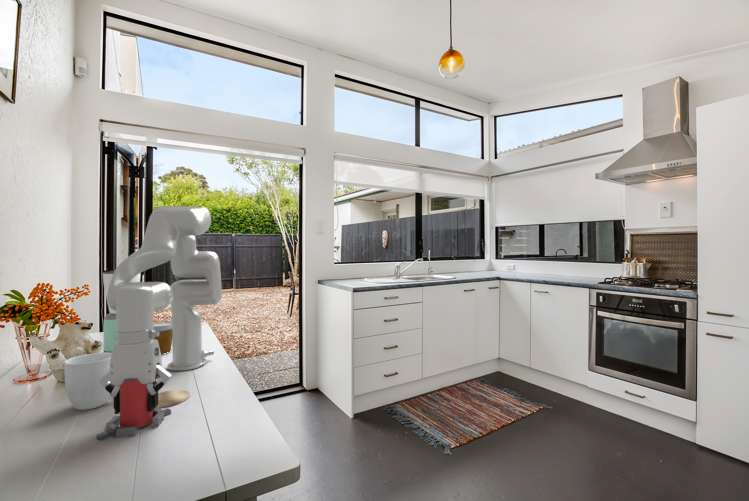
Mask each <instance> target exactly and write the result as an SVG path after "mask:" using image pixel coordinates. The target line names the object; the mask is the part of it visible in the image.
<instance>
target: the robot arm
mask: <svg viewBox="0 0 749 501" xmlns="http://www.w3.org/2000/svg"><path fill="white" fill-rule="evenodd" d="M211 224H212V215H211V212H210V210H209V209H208V208H207V207H204V206H186V205H185V206H184V205H183V206H181V205H180V206H179V205H164V206H158V207H156V208H154V210H153V212H151V214H150V216H149V218H148V221H147V226H146V228H145V233H144V237H143V240H142V242H141V243H142V244H141V247H140V248H139V249H138V250H136V251H134V252H133V253H132V254H130V255H128V256H127V257H126V258H125V259H124V260H123V261H122V262H121V263H119V265H117V267H116V269H115V270H113V271H114V273H113V276H112V279H111V282H110V285H109V288H108V293H107V298H106V303H107V307H108V306H109V307H110V308H111V309H112V310H114V311H116V344H114V346H113V350H112V354H111V361H110V371H109V372H108V373H107V374H106V375H105V376H104V377H103V378H101V379H100V380H99V383H100V384H101V385H102V386H103V387H105V389H106V390H107V391H108V392H109V393H110V394H111V396H110V397H111V398H112V399H113V410H114V415H118V414H120V385H121V384H122V383H123V382H124V379H138V381H140V382H141V383H142V384H145V385H146V387H147V389H148V391H149V392H150V395H148V412H152V411H153V410H154V409H155V408H156V407H157V405H158V393H159V392H160V390H161V389H162V388H164V386H165V385H166V384H167V383H168V382H169V381H170V380H171V379H172V376H173V375H172V374H171V373H170V372H169V371H172V372H173V371H174V372H178V371H179V372H181V371H188V370H189V371H190V370H194V369H198V368H201V367H203V366H205V365H206V364H207V359H206V358H207V357H208V356H209V357H210V356H213V355H214V354H215V351H214V349H210V350H203V349H202V348H203V347H202V341H203V340H202V339H203V338H202V316H201V313H200V312H199V310H197V308H196V306H209V305H217V304H219V303H220V302H221V299H222V294H223V291H222V290H223V289H222V274H221V261H220V257H219V255H218V254H217V253H216V252H215V251H207V250H202V251H201V250H198V249H197V240H196V236H201V235H203V234H204V233H206V232H208V230H209V229H210V227H211ZM169 261H170V267H171V271H172V274H173V276H175V277H177V278H185V279H180V280H176V281H174V282H172V283H171V285H169V284H168V283H166V282H163V281H147V282H146V281H140V282H130V281H131V280H132V279H133V278H134V277H135V276H136V275H138V274H139V273H141V274H142V272H146V271H147V270H149V269H152V268H156V267H157V266H160V265H163V264H165V263H168V262H169ZM187 278H205V279H187ZM168 306H170V307H171V322H172V345H171V347H172V361H171V362H169V363H168V365H167V369H168V370H169V371H167V370H165V368H163V362H162V360H163V358H162V355H161V352H160V347H159V343H158V340H156V339H154V338H155V337H158V336H159V334H160V333H159V331H155V328H154V324H155V323H154V311H162V310H164V309H166V308H168ZM205 363H206V364H205ZM204 364H205V365H204ZM202 365H203V366H202ZM200 366H201V367H200ZM159 378H161V380H160V381H159V382H158V380H157V379H159Z"/></svg>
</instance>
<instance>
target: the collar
mask: <svg viewBox="0 0 749 501" xmlns="http://www.w3.org/2000/svg"><path fill="white" fill-rule="evenodd" d="M171 414H172V410H171V409H170V408H169V407H166V408H164V409H163V408H157V407H156V408H155V409H154V410H153V419H152V428H159V427H160V425H161V424H162V422H163V421H164V420H165V417H166V416H168V415H171ZM105 426H106V427H105V431H103V432H100V433H97V434H95V439H96V440H97V441H98V442H100V441H103V440H105V439H109V438H111V437H112V438H113V439H114V438H116V439H119V438H128V437H136V436H137V434H138V429H137V425H129V426H120V415H115V416H113V417H112V418H111V419H110V420H108V421H107V422H106V424H105Z"/></svg>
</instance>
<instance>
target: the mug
mask: <svg viewBox="0 0 749 501" xmlns="http://www.w3.org/2000/svg"><path fill="white" fill-rule="evenodd" d="M111 354H112V353H109V352H104V351H103V352H93V353H87V354H82V355H78V356H74V357H70V358H68V359H66V360H65V361H64V387H65V392H66V395H67V398H68V399H67V400H68V401H69V403H70V404H71V405H72V407H73V408H74V409H76V410H78V411H87V410H92V409H96V408H98V407H102V406H103V405H106V403H107V402H108V401H109V399H110V397H111V394H110V393H109V392H108V391H107V390H106V389H105V387H103V386H102V385H101V384H100V383H99V380H100V379H101V378H103V377H104V376H105V375H106V374H107V373H108V372H109V371H110V361H111Z"/></svg>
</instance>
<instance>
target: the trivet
mask: <svg viewBox="0 0 749 501" xmlns="http://www.w3.org/2000/svg"><path fill="white" fill-rule="evenodd" d="M189 398H190V392H189V391H187V390H185V389H184V390H183V389H174V390H173V389H172V390H166V391H162V392H158V405H157V408H159V409H163V408H164V409H165V408H169V407H173V406H176V405H179V404H181V403H183V402H186V401H187V400H188V399H189Z"/></svg>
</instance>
